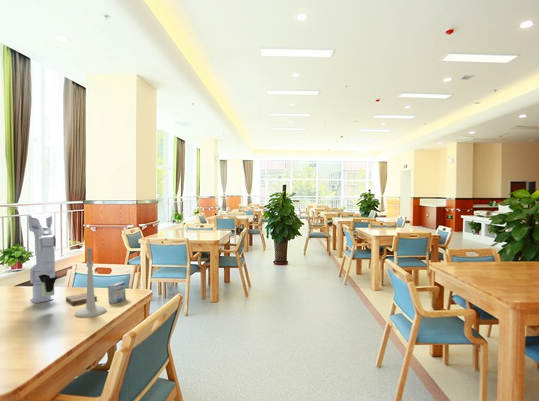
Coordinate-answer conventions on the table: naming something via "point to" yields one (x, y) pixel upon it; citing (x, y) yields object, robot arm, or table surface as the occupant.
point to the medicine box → (116, 292)
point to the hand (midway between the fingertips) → (48, 290)
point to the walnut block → (78, 299)
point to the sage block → (44, 292)
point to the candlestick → (90, 293)
